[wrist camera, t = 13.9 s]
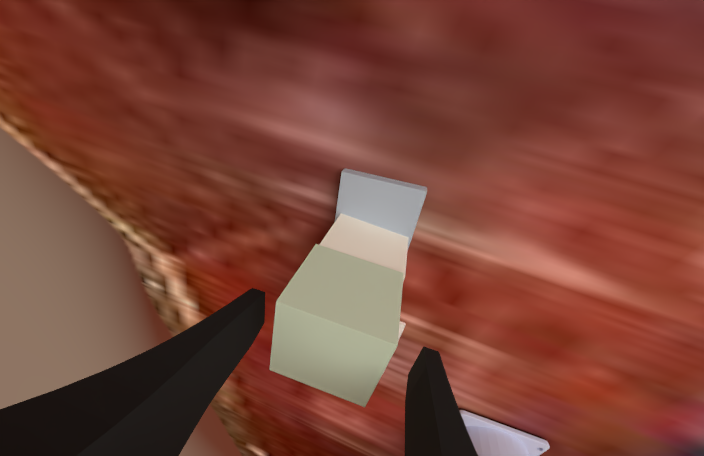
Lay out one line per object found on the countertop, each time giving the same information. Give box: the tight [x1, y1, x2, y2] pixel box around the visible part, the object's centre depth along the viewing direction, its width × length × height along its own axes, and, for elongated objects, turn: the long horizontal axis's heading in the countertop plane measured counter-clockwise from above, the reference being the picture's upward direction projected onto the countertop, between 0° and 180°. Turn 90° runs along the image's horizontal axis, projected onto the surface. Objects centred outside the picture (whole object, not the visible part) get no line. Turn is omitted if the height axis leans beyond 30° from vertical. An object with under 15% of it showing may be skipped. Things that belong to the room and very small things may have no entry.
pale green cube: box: [269, 244, 404, 407], centre depth 11 cm, size 4×4×4 cm
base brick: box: [335, 168, 427, 251], centre depth 17 cm, size 10×5×2 cm, turn 171°
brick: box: [319, 213, 408, 281], centre depth 15 cm, size 4×4×4 cm
